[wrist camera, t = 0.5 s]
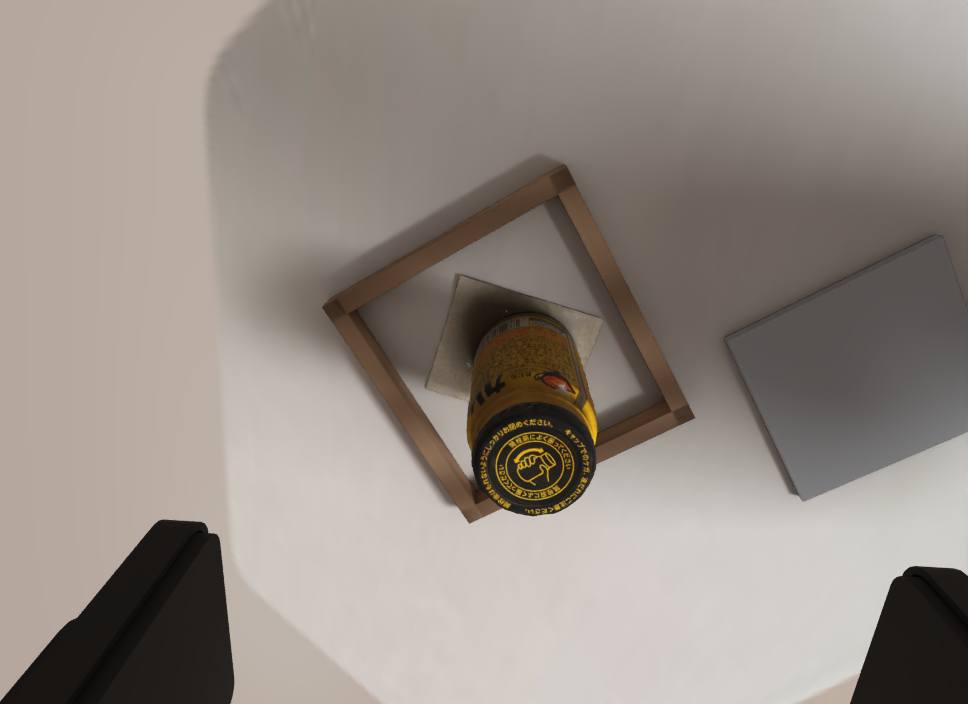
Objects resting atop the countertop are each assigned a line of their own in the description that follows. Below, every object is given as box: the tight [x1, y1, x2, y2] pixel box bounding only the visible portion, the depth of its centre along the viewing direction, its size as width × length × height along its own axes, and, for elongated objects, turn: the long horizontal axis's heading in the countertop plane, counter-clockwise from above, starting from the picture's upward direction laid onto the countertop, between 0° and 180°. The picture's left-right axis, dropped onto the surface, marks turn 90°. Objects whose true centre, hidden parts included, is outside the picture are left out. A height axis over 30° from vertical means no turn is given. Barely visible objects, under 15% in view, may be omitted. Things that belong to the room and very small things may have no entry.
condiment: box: [426, 276, 604, 516], centre depth 33 cm, size 7×8×12 cm
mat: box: [724, 234, 968, 502], centre depth 38 cm, size 12×12×1 cm
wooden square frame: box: [322, 164, 695, 524], centre depth 37 cm, size 16×15×2 cm
